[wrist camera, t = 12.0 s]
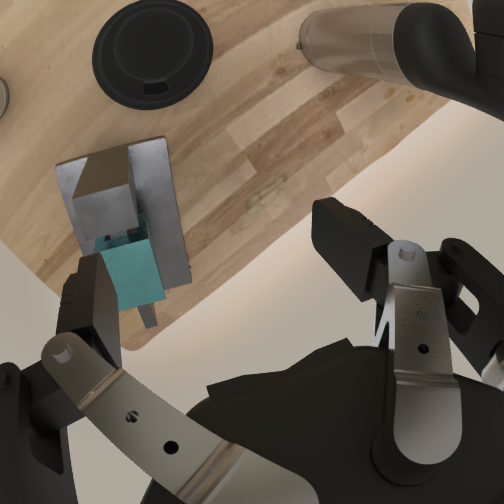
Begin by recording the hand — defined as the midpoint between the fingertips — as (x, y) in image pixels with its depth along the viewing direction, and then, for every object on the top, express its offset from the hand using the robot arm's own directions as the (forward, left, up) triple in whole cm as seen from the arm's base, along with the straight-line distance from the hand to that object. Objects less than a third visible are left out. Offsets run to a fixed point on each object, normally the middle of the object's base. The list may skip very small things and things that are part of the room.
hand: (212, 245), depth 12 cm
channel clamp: (+6, +14, -24) cm, 28 cm away
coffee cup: (0, -7, -30) cm, 31 cm away
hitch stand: (+6, +14, -30) cm, 33 cm away
